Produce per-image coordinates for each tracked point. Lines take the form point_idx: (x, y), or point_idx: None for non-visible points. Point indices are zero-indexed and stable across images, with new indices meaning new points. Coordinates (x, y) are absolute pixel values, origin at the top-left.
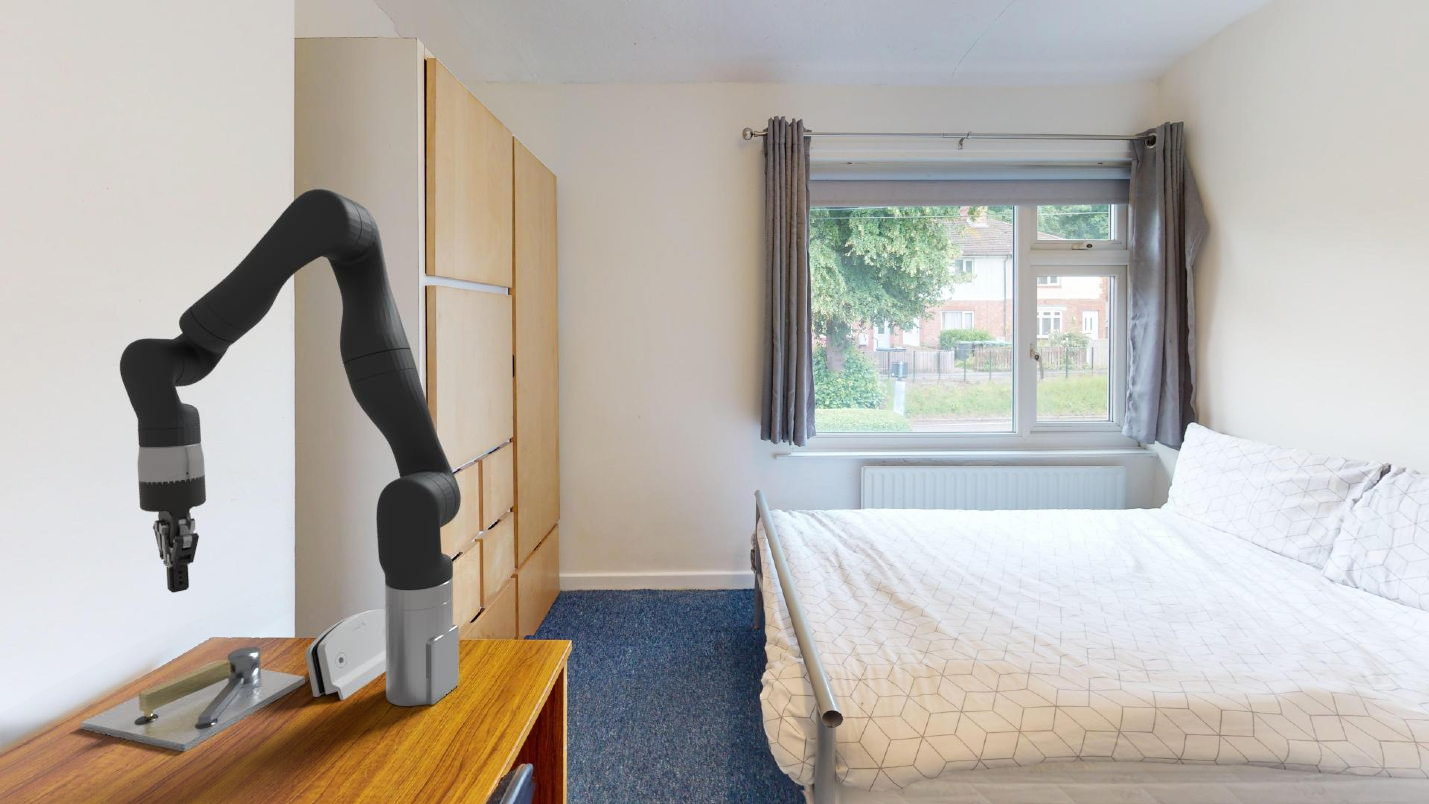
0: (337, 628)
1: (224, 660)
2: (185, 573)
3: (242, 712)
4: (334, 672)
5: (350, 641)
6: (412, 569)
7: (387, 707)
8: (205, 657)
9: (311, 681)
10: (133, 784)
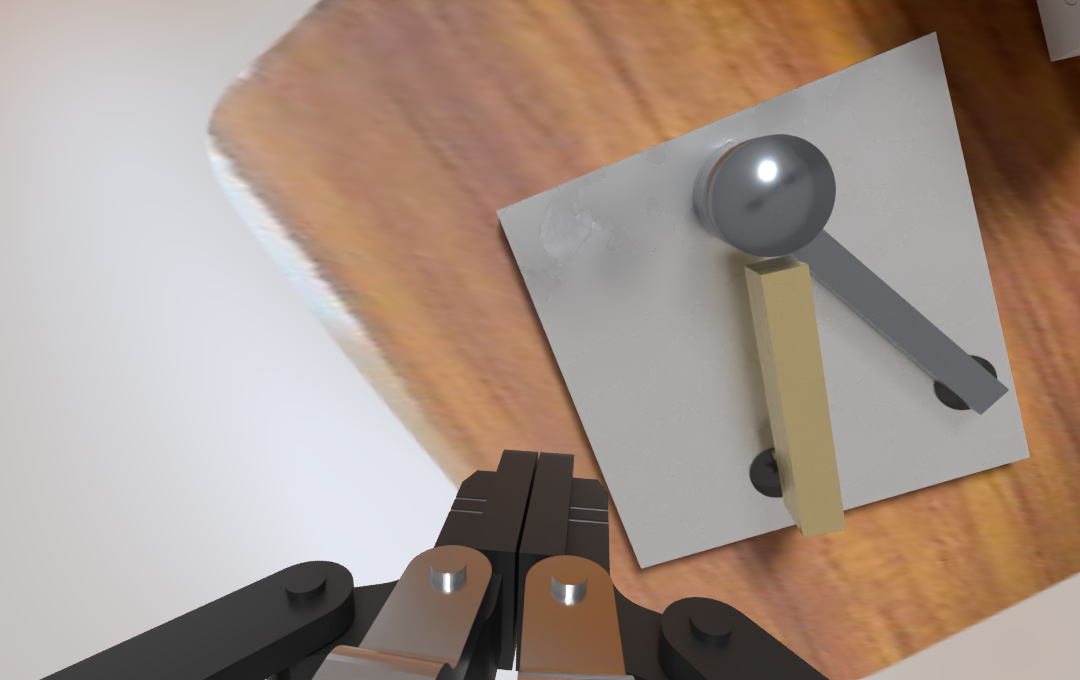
0: None
1: (780, 276)
2: (605, 546)
3: (991, 289)
4: None
5: None
6: None
7: None
8: (384, 201)
9: (1077, 51)
10: (1052, 558)
